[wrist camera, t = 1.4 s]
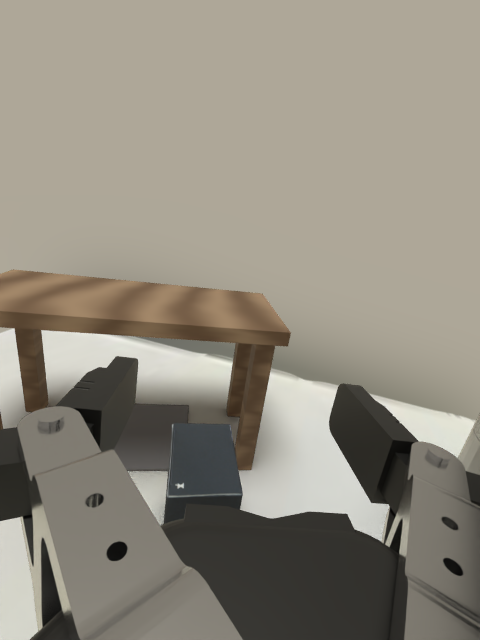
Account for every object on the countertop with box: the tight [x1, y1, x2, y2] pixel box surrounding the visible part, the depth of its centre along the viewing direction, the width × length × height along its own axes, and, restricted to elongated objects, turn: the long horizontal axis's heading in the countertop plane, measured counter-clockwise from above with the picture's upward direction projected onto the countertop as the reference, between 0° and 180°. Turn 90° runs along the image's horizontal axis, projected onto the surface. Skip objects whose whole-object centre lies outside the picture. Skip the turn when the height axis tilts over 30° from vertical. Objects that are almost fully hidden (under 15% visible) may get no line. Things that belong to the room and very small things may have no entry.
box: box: [164, 423, 243, 524], centre depth 26 cm, size 8×6×11 cm
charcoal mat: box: [114, 404, 189, 471], centre depth 40 cm, size 14×12×1 cm
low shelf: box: [0, 270, 291, 470], centre depth 37 cm, size 32×14×19 cm, turn 97°
